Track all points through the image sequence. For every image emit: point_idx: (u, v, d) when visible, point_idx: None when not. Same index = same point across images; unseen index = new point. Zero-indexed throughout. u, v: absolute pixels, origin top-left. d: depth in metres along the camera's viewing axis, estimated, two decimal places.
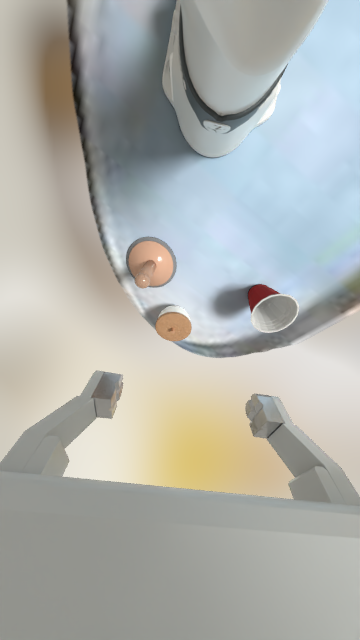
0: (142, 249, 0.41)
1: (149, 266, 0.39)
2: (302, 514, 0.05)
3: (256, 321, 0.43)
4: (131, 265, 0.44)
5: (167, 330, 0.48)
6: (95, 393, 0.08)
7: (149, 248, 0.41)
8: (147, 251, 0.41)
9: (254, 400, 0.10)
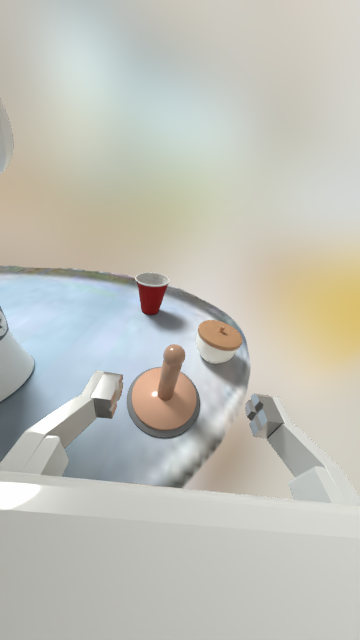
0: (147, 409, 0.27)
1: (160, 376, 0.28)
2: (302, 514, 0.05)
3: (165, 287, 0.51)
4: (178, 421, 0.26)
5: (227, 335, 0.38)
6: (95, 393, 0.08)
7: (142, 400, 0.28)
8: (147, 403, 0.28)
9: (254, 400, 0.10)
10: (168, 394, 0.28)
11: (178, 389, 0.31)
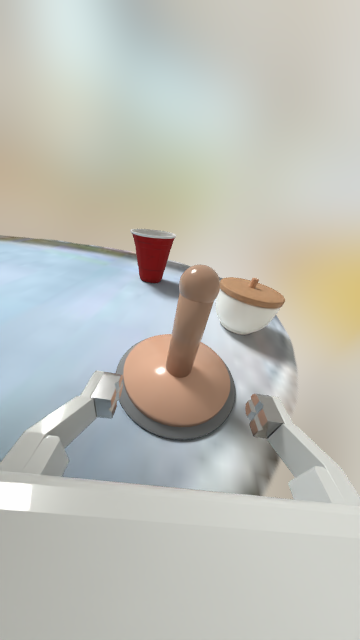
0: (150, 391, 0.15)
1: (171, 334, 0.16)
2: (302, 514, 0.05)
3: (170, 245, 0.40)
4: (205, 410, 0.15)
5: (263, 291, 0.26)
6: (95, 393, 0.08)
7: (141, 377, 0.17)
8: (150, 380, 0.16)
9: (254, 400, 0.10)
10: (185, 365, 0.16)
11: (199, 363, 0.20)
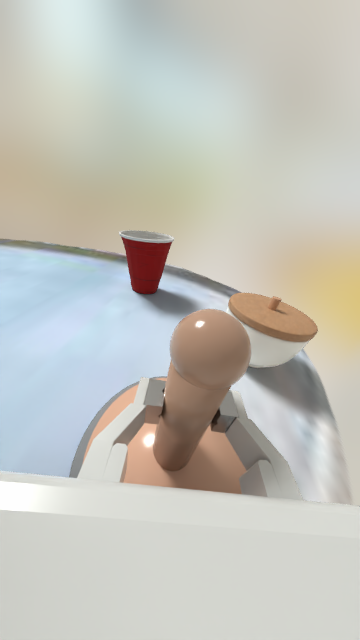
0: None
1: None
2: (302, 514, 0.05)
3: None
4: None
5: (287, 315, 0.20)
6: (147, 400, 0.08)
7: None
8: None
9: None
10: (183, 459, 0.10)
11: (203, 433, 0.13)
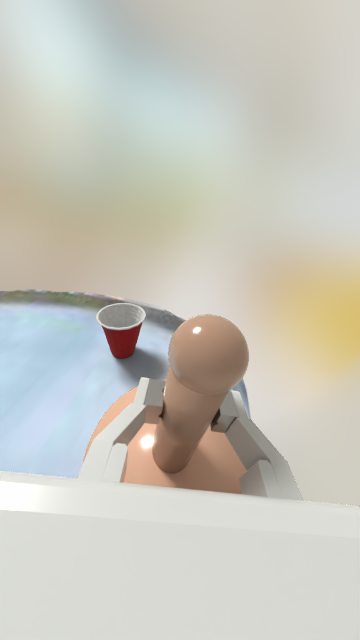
0: None
1: None
2: (302, 514, 0.05)
3: None
4: None
5: None
6: (147, 400, 0.08)
7: None
8: None
9: None
10: (182, 462, 0.10)
11: (202, 435, 0.13)
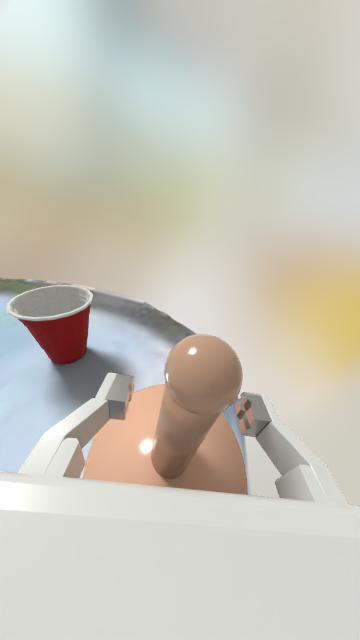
0: None
1: (156, 423, 0.10)
2: (302, 514, 0.05)
3: None
4: None
5: None
6: (110, 395, 0.08)
7: None
8: None
9: (243, 398, 0.10)
10: (179, 469, 0.10)
11: None
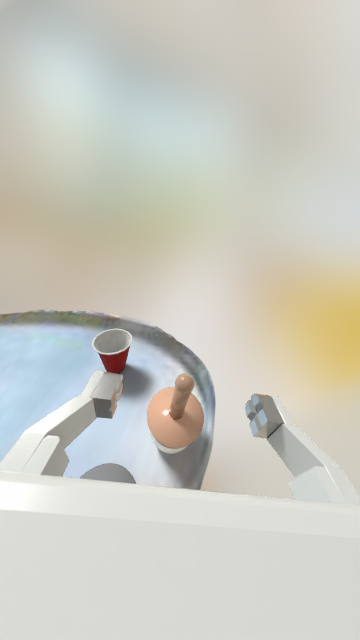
0: (161, 429, 0.31)
1: (172, 399, 0.32)
2: (302, 514, 0.05)
3: (127, 348, 0.48)
4: (188, 439, 0.30)
5: None
6: (95, 393, 0.08)
7: (156, 420, 0.32)
8: (161, 422, 0.32)
9: (254, 400, 0.10)
10: (179, 415, 0.32)
11: (187, 409, 0.35)
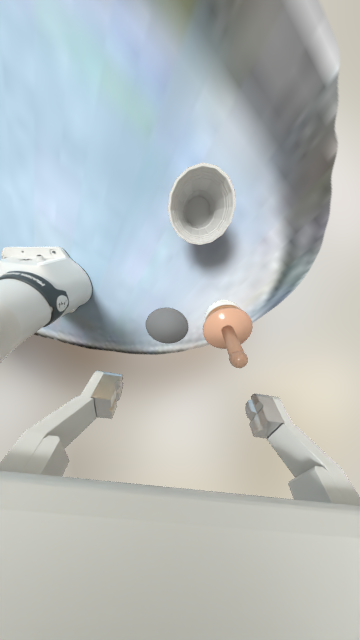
0: (210, 335, 0.41)
1: (226, 338, 0.36)
2: (302, 514, 0.05)
3: (219, 226, 0.29)
4: (223, 346, 0.43)
5: None
6: (95, 393, 0.08)
7: (210, 329, 0.40)
8: (212, 332, 0.41)
9: (254, 400, 0.10)
10: None
11: (237, 331, 0.40)
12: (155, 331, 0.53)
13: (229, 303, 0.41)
